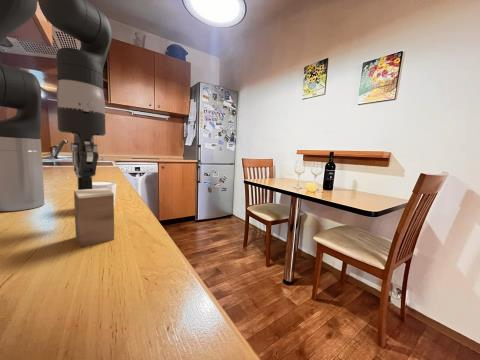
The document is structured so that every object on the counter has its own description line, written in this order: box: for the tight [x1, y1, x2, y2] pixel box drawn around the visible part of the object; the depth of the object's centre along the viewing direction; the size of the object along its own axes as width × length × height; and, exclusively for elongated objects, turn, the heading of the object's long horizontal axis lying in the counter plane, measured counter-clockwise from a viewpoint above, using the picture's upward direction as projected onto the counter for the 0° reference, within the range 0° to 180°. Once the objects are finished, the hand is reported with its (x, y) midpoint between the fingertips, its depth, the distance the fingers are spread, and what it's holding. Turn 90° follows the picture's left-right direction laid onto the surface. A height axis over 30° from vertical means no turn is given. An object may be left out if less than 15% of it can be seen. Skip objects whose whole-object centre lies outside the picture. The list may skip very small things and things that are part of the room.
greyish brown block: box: [73, 188, 115, 248], centre depth 37 cm, size 5×5×9 cm
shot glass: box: [92, 180, 117, 204], centre depth 54 cm, size 7×7×7 cm
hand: (85, 194), depth 42 cm, fingers closed
